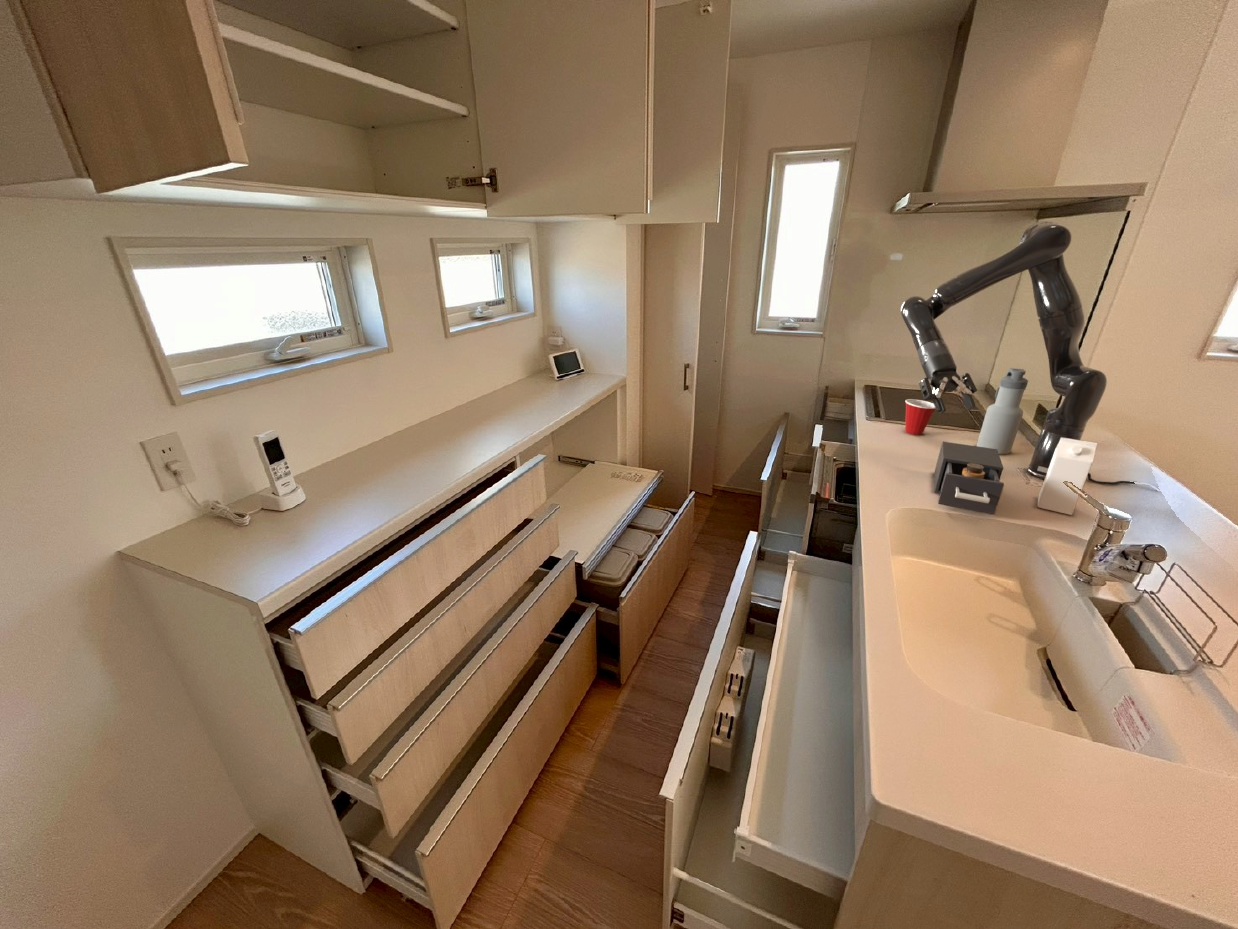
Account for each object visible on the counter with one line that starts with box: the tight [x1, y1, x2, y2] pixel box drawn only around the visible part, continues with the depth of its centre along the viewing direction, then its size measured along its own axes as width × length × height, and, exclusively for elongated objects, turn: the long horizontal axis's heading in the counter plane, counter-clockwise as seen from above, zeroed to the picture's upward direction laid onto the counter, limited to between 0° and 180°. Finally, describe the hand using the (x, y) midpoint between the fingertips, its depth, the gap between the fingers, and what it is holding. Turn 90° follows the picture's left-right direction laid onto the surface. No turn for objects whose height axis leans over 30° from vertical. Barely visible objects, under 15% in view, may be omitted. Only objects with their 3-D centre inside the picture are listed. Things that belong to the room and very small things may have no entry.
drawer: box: [937, 462, 1005, 516], centre depth 132 cm, size 20×12×9 cm, turn 150°
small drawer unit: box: [933, 441, 1004, 495], centre depth 143 cm, size 16×14×11 cm
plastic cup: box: [904, 398, 936, 436], centre depth 187 cm, size 11×11×12 cm
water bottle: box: [976, 367, 1029, 455], centre depth 167 cm, size 10×10×28 cm
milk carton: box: [1037, 437, 1098, 516], centre depth 130 cm, size 7×7×19 cm
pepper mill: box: [962, 463, 985, 479], centre depth 132 cm, size 5×5×10 cm
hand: (956, 410), depth 137 cm, fingers open, 8 cm apart
